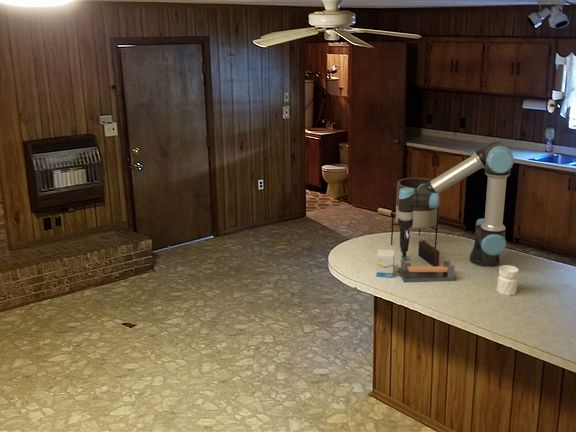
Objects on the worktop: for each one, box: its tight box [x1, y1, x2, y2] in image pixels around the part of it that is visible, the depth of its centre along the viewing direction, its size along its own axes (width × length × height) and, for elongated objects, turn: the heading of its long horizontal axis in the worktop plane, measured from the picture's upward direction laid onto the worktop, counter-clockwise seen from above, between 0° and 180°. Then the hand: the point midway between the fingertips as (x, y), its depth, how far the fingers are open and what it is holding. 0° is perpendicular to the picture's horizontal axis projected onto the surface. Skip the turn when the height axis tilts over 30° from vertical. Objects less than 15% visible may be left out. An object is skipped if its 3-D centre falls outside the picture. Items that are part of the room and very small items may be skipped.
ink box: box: [375, 248, 396, 279], centre depth 321 cm, size 9×8×12 cm
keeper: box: [400, 255, 413, 271], centre depth 320 cm, size 4×7×6 cm, turn 3°
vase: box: [496, 264, 520, 295], centre depth 299 cm, size 9×9×12 cm
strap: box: [408, 265, 447, 272], centre depth 316 cm, size 21×5×1 cm, turn 93°
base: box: [397, 259, 458, 283], centre depth 318 cm, size 26×13×8 cm, turn 93°
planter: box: [390, 177, 441, 249], centre depth 358 cm, size 26×25×35 cm
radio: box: [417, 239, 441, 267], centre depth 335 cm, size 19×3×15 cm, turn 18°
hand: (403, 262), depth 328 cm, fingers closed
